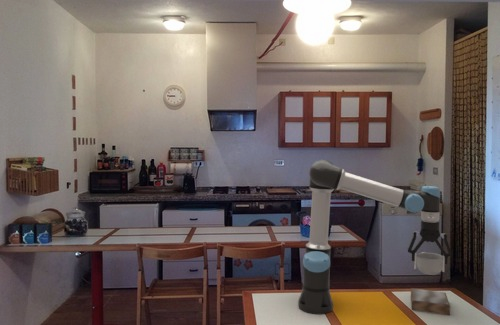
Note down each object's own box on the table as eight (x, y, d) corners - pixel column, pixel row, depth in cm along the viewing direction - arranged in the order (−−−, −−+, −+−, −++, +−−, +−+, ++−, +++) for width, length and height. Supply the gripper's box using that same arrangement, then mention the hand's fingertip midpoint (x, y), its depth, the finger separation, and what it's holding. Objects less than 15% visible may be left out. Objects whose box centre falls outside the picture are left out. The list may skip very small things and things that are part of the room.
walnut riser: (411, 309, 180) (412, 300, 180) (410, 296, 196) (410, 287, 196) (449, 315, 175) (450, 305, 175) (445, 301, 191) (445, 292, 191)
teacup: (445, 277, 176) (445, 259, 176) (418, 275, 179) (418, 257, 178) (437, 268, 190) (438, 251, 190) (412, 266, 192) (413, 249, 192)
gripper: (402, 220, 184) (401, 269, 185) (460, 224, 176) (459, 274, 177) (402, 217, 191) (401, 264, 192) (458, 221, 183) (456, 270, 184)
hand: (429, 269), depth 184 cm, fingers closed on teacup, 11 cm apart
